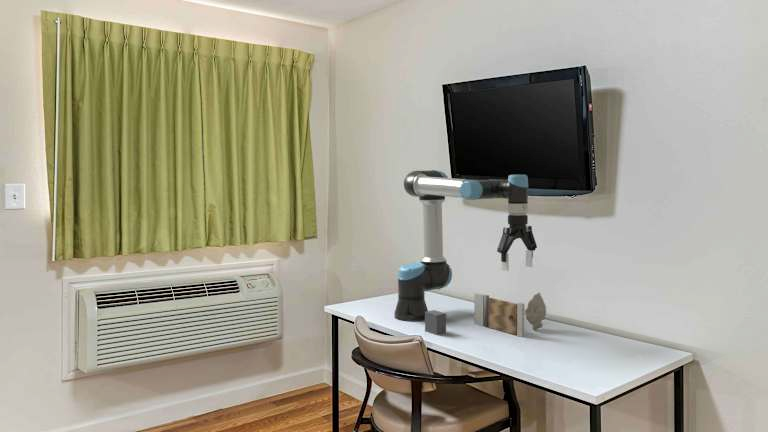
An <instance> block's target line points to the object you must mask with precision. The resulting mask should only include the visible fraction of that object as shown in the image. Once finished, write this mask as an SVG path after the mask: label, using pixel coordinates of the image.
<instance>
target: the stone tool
mask: <svg viewBox="0 0 768 432" xmlns="http://www.w3.org/2000/svg"><path fill="white" fill-rule="evenodd" d="M546 308H547V306H546V304H545V302H544V299H543V297H542V295H541V293H540V292H537V293H536V294H534V295H533V297H532V298H531V299H530V300H529V301H528V303H527V306H526V309H524V314H525V319H526V321H528V323H529V324H531V326H532V330H533V331H537V330H539V329H540V328H542V327H543V326H544V324H543V322H542V321H543V320H545V318H546V316H547V309H546Z"/></svg>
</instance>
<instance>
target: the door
mask: <svg viewBox="0 0 768 432" xmlns="http://www.w3.org/2000/svg"><path fill="white" fill-rule="evenodd" d="M487 328H489V329H490V328H491V329H495V330H497V331H502V332H504V333H508V334H512V335H515V336H517V303H516V302H515V303H514V302H511V301H506V300H502V299H497V298H493V297H489V303H488V327H487Z"/></svg>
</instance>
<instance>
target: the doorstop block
mask: <svg viewBox="0 0 768 432" xmlns="http://www.w3.org/2000/svg"><path fill="white" fill-rule="evenodd" d="M424 332H426V333H429V334H433V335H435V336H438V335H442V334H446V333H447V313H446V312H443V311H440V310H436V309H435V310H434V309H433V310H428V311H427V312H425V319H424Z"/></svg>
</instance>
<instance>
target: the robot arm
mask: <svg viewBox="0 0 768 432" xmlns="http://www.w3.org/2000/svg"><path fill="white" fill-rule="evenodd" d="M403 187H404V191H405V192H406V194H408V195H410V196H411V197H416V198H417V197H418V198H419V200H418V201H419V202H420V203H421V204H422V216H423V218H422V220H423V221H422V222H423V224H422V225H423V257H422V258H421V259H420V262H409V263H404V264H402V265H401V266H400V267H399V268H398V272H397V287H398V288H397V292H398V294H397V296H398V297H397V298H398V299H397V303H396V307H395V309H394V314H393V315H394V318H395V319H396V320H400V321H409V322H415V321H416V322H417V321H423V320H424V321H425V312H427V311H429V310H428V306H427V303H426V299H425V292H428V291H435V290H442V289H444V288H446V287H447V286H449V285H450V283H451V281H452V278H453V271H452V268H451V266H450V265H449V263H447V258H445V257H444V242H443V240H444V239H443V238H444V237H443V203H444V202H445V201H446V197H452V198H459V199H460V198H461V199H464V200H470V201H476V200H492V199H493V200H494V199H505V200H506V199H507V213H508V215H507V225H509V227H503V230H502V235H501V237H500V241H499V244H498V246H497V250H496V252H497V253H499V254H500V256H501V259H500V260H501V270H502V271H506V272H508V271H509V267H510V266H509V263H510V261H509V260H510V259H509V256H510V255H509V253H508V252H509V250H510V248H511V247H512V244H513V243H514V241H515V240H517V239H521V241H522V242H523V244H524V246H525V247H526V250H525V267H528V268H532V267H533V258H534V251H536V249H537V248H538V246H537V243H536V240H535V236H534V233H533V227H532V225H528V223H529V222H528V219H529V218H528V217H529V216H528V215H527V214H528V212H529V211H528V209H529V208H528V207H529V206H528V203H529V201H528V198H529V179H528V175H527V174H510V175H508V179H496V178H493V179H465V178H464V179H463V178H454V177H453V178H451V177H448V175H446V173H445V172H443V171H442V170H437V169H436V170H434V169H432V170H414V171H411V172H409V173H407V174H406V175H405V178H404V180H403Z"/></svg>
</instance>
